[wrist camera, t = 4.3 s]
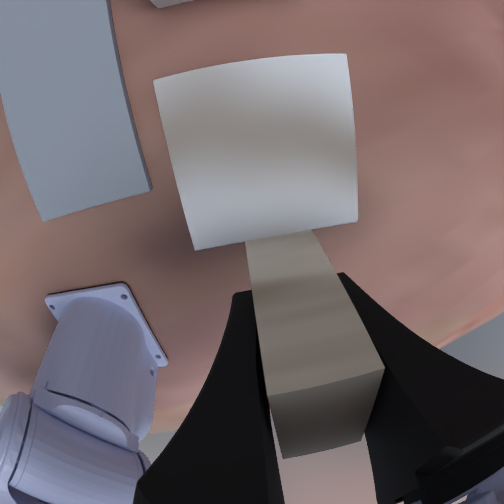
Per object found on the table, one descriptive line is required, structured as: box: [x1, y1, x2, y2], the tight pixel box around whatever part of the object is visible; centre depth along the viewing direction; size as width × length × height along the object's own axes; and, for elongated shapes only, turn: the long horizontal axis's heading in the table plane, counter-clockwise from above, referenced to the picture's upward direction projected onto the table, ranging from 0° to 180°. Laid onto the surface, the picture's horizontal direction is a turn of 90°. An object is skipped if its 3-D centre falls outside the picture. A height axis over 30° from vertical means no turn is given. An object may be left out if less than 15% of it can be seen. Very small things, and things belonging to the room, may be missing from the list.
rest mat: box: [0, 0, 152, 222], centre depth 12 cm, size 16×8×1 cm, turn 9°
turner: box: [153, 54, 385, 459], centre depth 8 cm, size 10×6×7 cm, turn 9°
